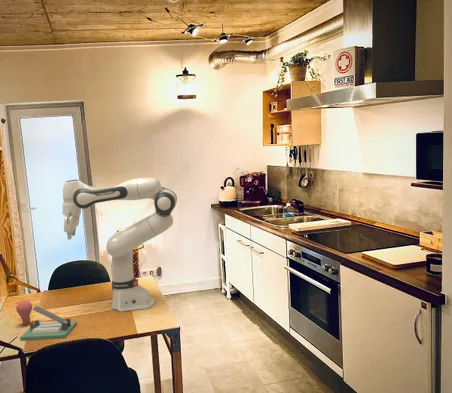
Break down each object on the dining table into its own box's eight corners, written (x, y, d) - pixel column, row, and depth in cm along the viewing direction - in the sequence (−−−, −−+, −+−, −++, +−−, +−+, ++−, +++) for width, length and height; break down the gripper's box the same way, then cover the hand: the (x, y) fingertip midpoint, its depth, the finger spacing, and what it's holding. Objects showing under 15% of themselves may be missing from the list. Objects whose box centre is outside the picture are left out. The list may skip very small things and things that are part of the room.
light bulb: (18, 328, 218) (15, 304, 217) (18, 323, 225) (15, 300, 223) (34, 325, 221) (31, 301, 220) (34, 320, 227) (31, 297, 226)
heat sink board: (77, 324, 219) (76, 314, 219) (64, 338, 203) (63, 327, 203) (35, 326, 220) (34, 316, 219) (20, 340, 204) (19, 329, 203)
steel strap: (68, 323, 213) (69, 320, 212) (65, 326, 210) (67, 323, 209) (35, 308, 212) (36, 305, 212) (32, 310, 209) (33, 307, 209)
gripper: (74, 214, 226) (73, 241, 227) (81, 208, 246) (81, 233, 247) (60, 213, 225) (60, 241, 226) (69, 208, 245) (69, 233, 246)
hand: (71, 237), depth 237 cm, fingers open, 8 cm apart
